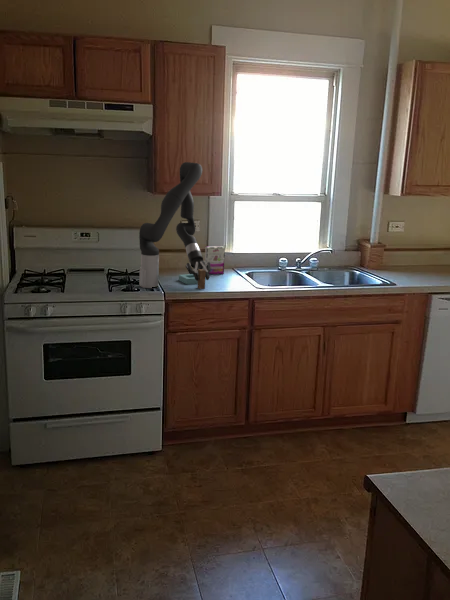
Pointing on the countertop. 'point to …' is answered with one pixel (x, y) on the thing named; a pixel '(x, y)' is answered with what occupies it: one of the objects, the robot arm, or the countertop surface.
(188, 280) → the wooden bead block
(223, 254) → the candy bar box
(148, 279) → the robot arm
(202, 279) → the tall brown block
